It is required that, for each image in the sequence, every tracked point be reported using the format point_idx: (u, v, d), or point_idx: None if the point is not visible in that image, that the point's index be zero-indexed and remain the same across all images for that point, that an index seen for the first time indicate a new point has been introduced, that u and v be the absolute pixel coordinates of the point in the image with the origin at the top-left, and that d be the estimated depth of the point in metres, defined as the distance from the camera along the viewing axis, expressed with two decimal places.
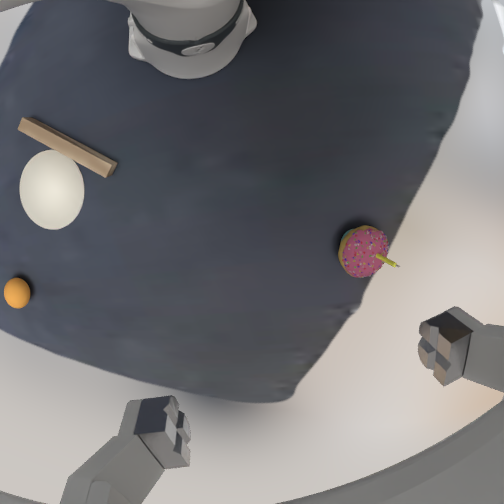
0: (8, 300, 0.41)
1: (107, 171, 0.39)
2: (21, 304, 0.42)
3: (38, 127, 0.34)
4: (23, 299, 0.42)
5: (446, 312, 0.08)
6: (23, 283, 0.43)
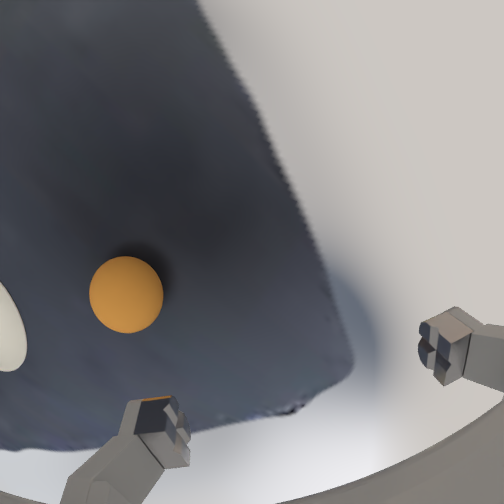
0: (123, 315, 0.18)
1: None
2: (113, 274, 0.19)
3: None
4: (98, 276, 0.19)
5: (446, 312, 0.08)
6: None
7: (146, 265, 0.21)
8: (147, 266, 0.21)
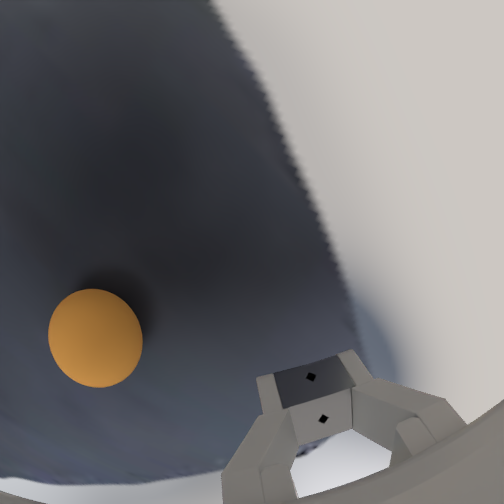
0: (89, 371, 0.13)
1: None
2: (72, 317, 0.13)
3: None
4: (56, 318, 0.13)
5: (335, 356, 0.08)
6: None
7: (117, 302, 0.15)
8: (119, 304, 0.15)
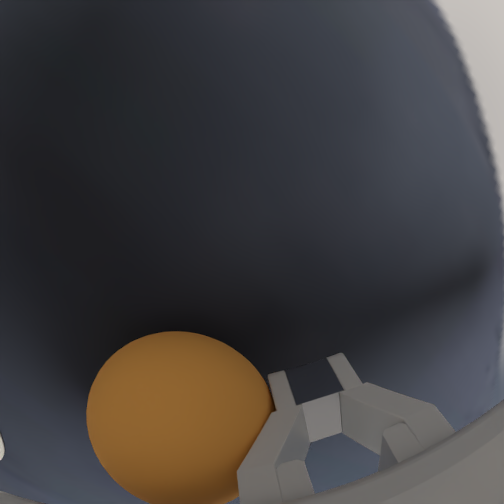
0: None
1: None
2: (131, 418, 0.05)
3: None
4: (97, 400, 0.06)
5: (325, 360, 0.08)
6: None
7: (240, 382, 0.07)
8: (243, 385, 0.07)
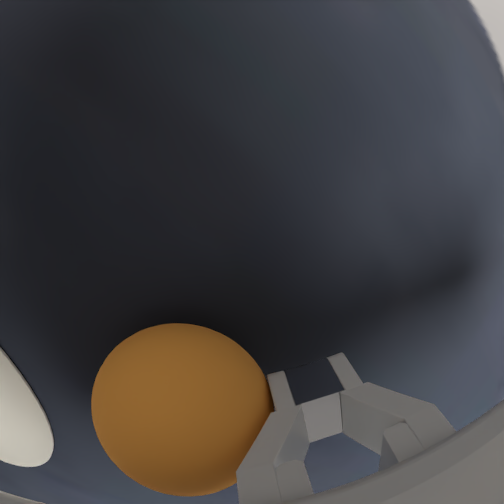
0: (135, 480, 0.06)
1: None
2: (114, 400, 0.06)
3: None
4: (98, 377, 0.07)
5: (325, 359, 0.08)
6: None
7: (225, 391, 0.07)
8: (227, 395, 0.07)
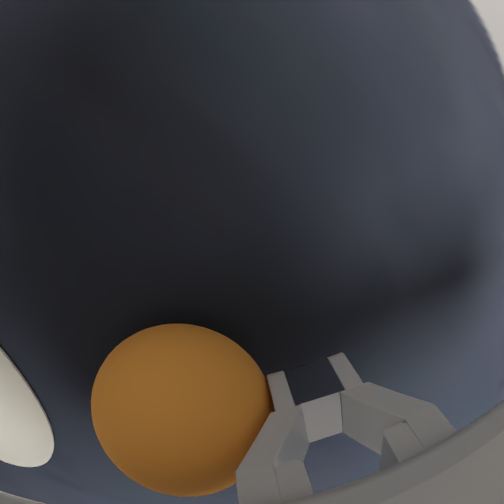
0: (135, 480, 0.06)
1: None
2: (114, 401, 0.06)
3: None
4: (98, 377, 0.07)
5: (325, 359, 0.08)
6: None
7: (225, 391, 0.07)
8: (227, 395, 0.07)
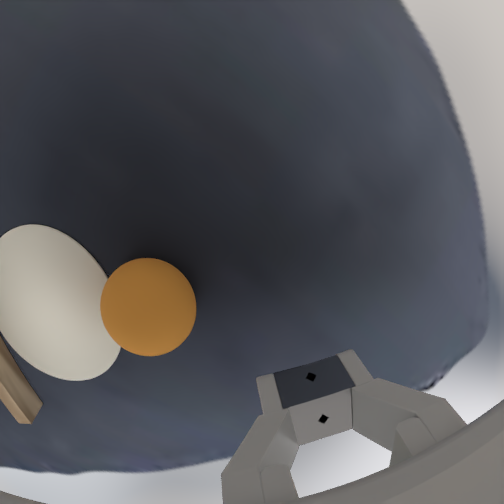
0: None
1: None
2: None
3: None
4: None
5: (335, 356, 0.08)
6: None
7: (103, 306, 0.14)
8: (103, 308, 0.14)
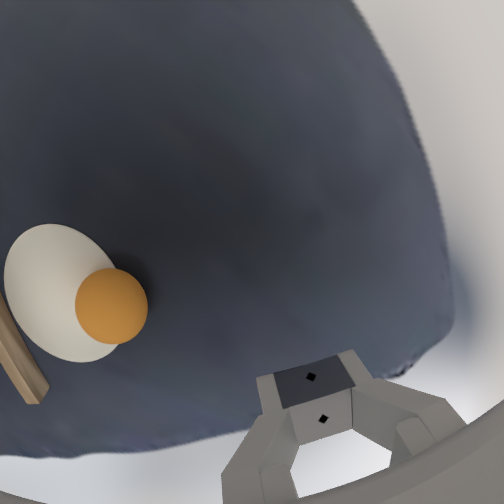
0: None
1: None
2: None
3: (8, 373, 0.21)
4: (114, 268, 0.20)
5: (335, 356, 0.08)
6: (120, 296, 0.18)
7: None
8: None
